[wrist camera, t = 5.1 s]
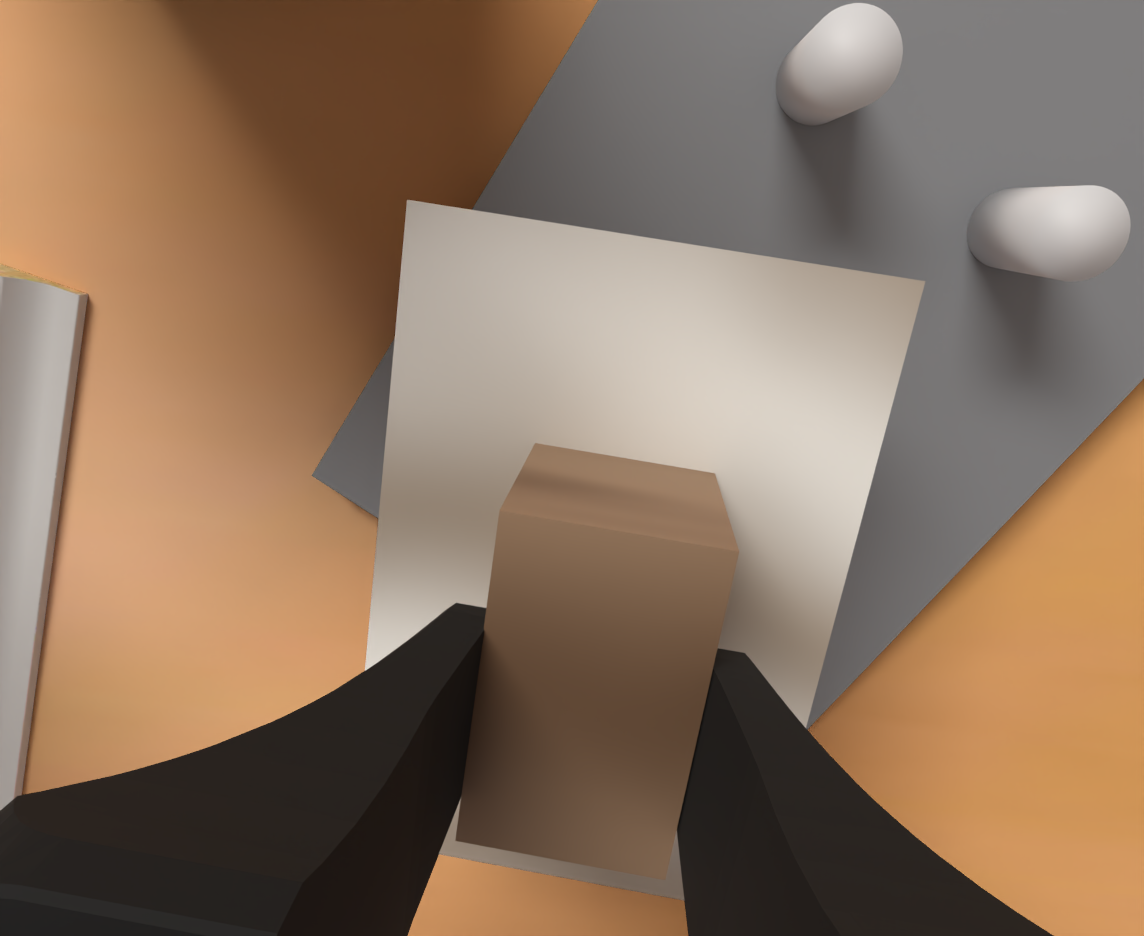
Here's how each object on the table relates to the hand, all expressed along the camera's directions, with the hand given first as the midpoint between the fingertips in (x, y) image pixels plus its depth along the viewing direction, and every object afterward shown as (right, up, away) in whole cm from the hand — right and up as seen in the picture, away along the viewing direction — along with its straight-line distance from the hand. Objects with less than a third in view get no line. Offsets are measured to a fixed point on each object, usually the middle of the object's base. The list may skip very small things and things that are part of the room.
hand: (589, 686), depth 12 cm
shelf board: (0, +1, +3) cm, 4 cm away
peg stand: (+4, +6, +7) cm, 10 cm away
